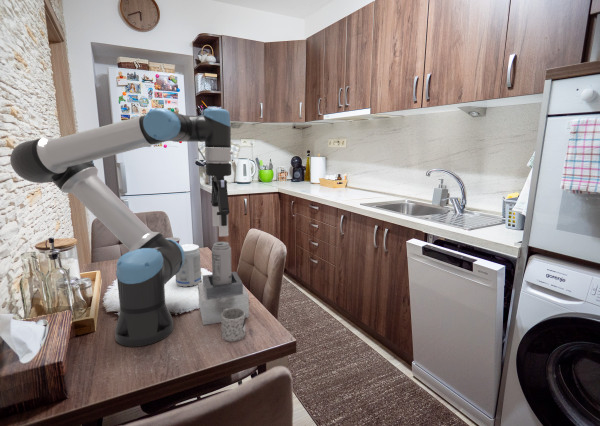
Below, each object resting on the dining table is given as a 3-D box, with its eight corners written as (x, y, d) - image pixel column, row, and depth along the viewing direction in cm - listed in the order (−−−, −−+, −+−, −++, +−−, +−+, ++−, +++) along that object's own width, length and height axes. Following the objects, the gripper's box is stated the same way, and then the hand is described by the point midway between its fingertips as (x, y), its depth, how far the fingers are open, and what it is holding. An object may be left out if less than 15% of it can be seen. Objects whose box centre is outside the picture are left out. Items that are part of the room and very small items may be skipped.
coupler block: (203, 325, 99) (201, 291, 97) (198, 304, 112) (197, 274, 110) (248, 317, 104) (248, 284, 102) (239, 298, 117) (239, 269, 115)
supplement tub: (195, 276, 137) (194, 242, 134) (205, 283, 129) (203, 247, 127) (172, 281, 131) (170, 246, 128) (180, 289, 123) (178, 252, 121)
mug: (248, 337, 93) (248, 315, 92) (226, 344, 90) (225, 321, 88) (235, 321, 102) (235, 301, 100) (214, 327, 98) (214, 306, 97)
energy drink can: (234, 289, 105) (233, 244, 103) (215, 293, 102) (214, 247, 99) (228, 283, 110) (227, 240, 108) (210, 286, 107) (209, 242, 105)
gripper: (239, 164, 89) (240, 239, 93) (224, 160, 111) (225, 221, 115) (211, 164, 86) (213, 242, 90) (201, 160, 109) (203, 223, 113)
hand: (220, 230), depth 103 cm, fingers open, 13 cm apart
